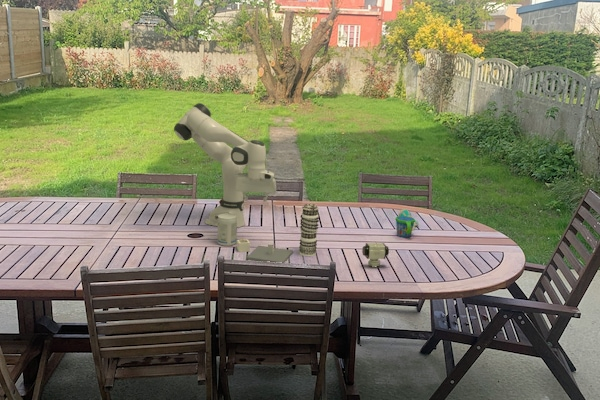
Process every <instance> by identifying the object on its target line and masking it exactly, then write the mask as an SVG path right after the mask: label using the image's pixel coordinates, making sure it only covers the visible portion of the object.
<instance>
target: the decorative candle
mask: <svg viewBox="0 0 600 400" xmlns="http://www.w3.org/2000/svg"><path fill="white" fill-rule="evenodd" d="M301 208H302V213H301V215H300V218H301V219H300V232H301V233H300V238H299V241H300V242H299V246H298V247H299V249H298V253H299V255H300V256H303V257H315V256H316V255H317V242H318V240H317V233H318V229H319V227H318V226H319V224H318V223H319V222H320V220H319V219H320V217H319V207H318V205H316V204H314V203H306V204H304V205H303V206H302V207H301Z"/></svg>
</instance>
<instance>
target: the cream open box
mask: <svg viewBox="0 0 600 400" xmlns="http://www.w3.org/2000/svg"><path fill="white" fill-rule="evenodd" d="M236 250H237V252H238V253H242V252H243V253H248V252H250V253H251V242H250V241H249V238H248V239H247V238H245V239H244V238H241V239H236Z"/></svg>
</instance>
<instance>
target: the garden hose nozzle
mask: <svg viewBox="0 0 600 400" xmlns="http://www.w3.org/2000/svg"><path fill="white" fill-rule="evenodd" d="M398 216H408V217H412V213H411V212H410V211H409V210H408V209H407V208H401V210H400V211H399V212H398ZM418 226H419V221H418V220H416V219H415V222H414V224H413V228H412V231H415V229H416V227H418Z"/></svg>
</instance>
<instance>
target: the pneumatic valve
mask: <svg viewBox="0 0 600 400" xmlns="http://www.w3.org/2000/svg"><path fill="white" fill-rule="evenodd" d="M361 249H362V251H361V253H362V256H364V257H365V258H366V259H367V260H368V266H370V267H371V266H372V267H371V268H376V267H375V266H379V267H380V266H381V260H386V257H388V256H389V253H390V248H389V246H387V245H386V244H385V243H384V242H379V243H378V242H366V243H365V245H364V246H363V247H362V248H361Z"/></svg>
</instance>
